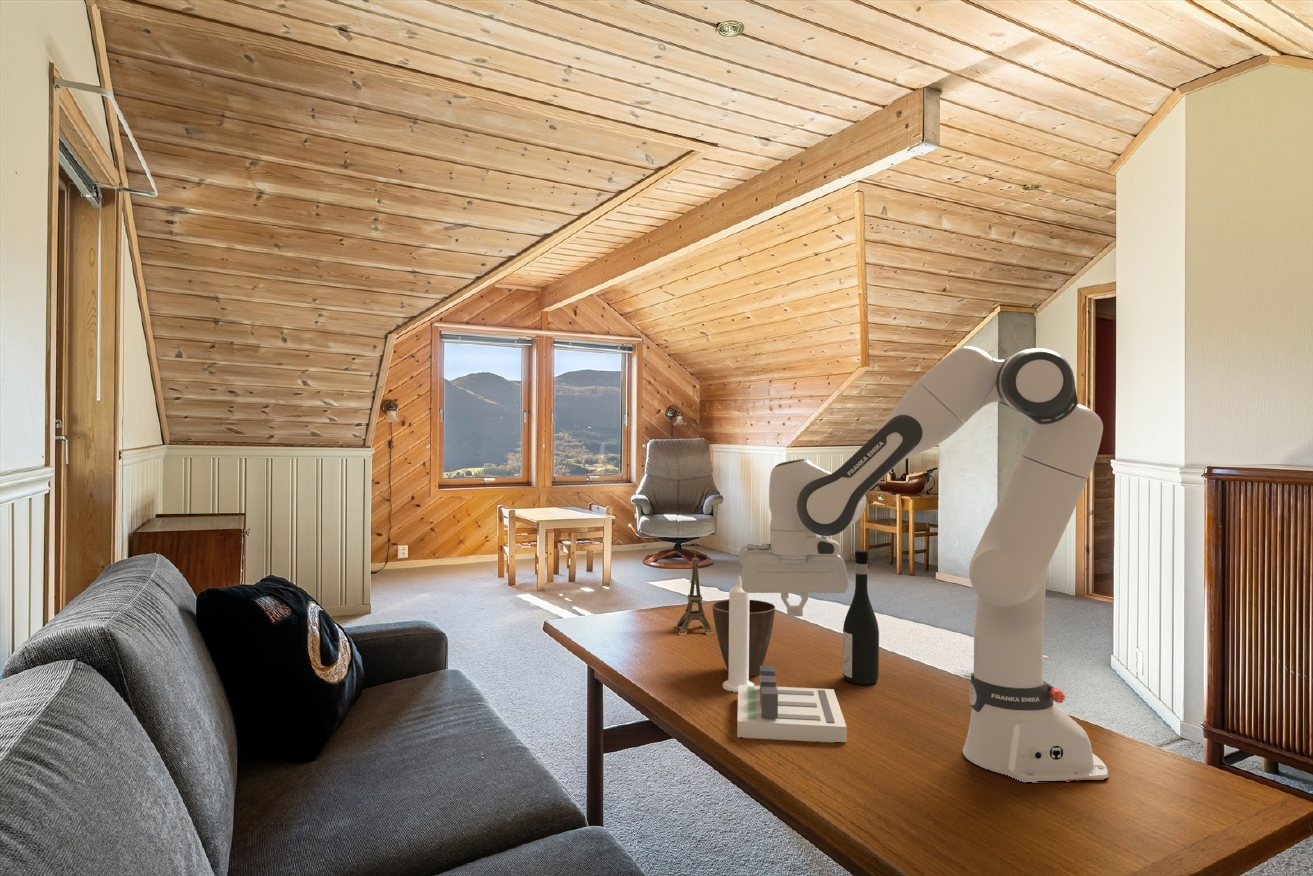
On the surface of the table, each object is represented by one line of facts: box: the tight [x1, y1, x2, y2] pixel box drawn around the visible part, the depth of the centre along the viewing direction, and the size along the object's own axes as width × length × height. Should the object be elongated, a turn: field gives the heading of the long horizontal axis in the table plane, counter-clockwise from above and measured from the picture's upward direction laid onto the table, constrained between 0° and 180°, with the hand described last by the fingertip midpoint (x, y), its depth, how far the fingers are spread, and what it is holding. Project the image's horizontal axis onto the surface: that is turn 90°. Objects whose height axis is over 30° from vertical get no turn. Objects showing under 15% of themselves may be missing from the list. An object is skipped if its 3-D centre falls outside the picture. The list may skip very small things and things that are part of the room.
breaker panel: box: [736, 685, 848, 743], centre depth 152 cm, size 20×21×3 cm
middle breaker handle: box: [759, 674, 777, 704], centre depth 153 cm, size 3×4×4 cm
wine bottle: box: [842, 549, 880, 686], centre depth 177 cm, size 8×8×30 cm
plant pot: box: [712, 599, 776, 678], centre depth 182 cm, size 15×15×16 cm
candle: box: [722, 575, 755, 693], centre depth 171 cm, size 7×7×25 cm
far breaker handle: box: [759, 664, 776, 677], centre depth 160 cm, size 3×4×4 cm
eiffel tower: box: [676, 543, 714, 633], centre depth 221 cm, size 11×11×25 cm
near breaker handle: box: [761, 686, 778, 718], centre depth 146 cm, size 3×4×4 cm
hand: (794, 615), depth 147 cm, fingers closed
